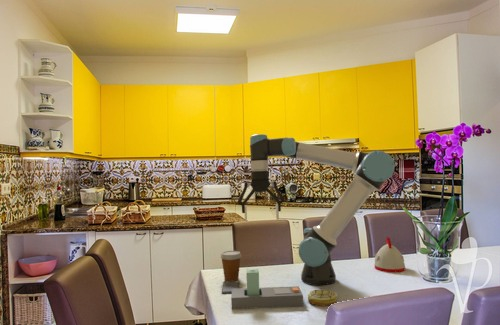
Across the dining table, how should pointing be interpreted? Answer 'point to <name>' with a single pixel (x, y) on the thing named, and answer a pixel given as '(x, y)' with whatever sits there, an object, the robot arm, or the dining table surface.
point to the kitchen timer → (389, 259)
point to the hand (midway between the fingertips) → (261, 220)
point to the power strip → (267, 298)
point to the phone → (229, 287)
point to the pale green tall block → (252, 282)
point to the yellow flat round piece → (322, 297)
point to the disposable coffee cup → (231, 264)
